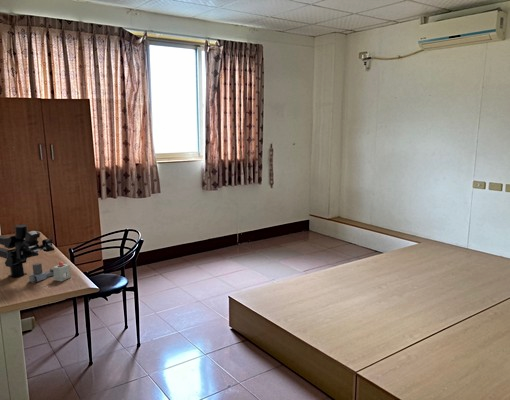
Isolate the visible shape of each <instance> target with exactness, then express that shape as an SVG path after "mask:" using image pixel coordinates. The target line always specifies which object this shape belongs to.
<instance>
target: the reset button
mask: <svg viewBox="0 0 510 400" xmlns="http://www.w3.org/2000/svg"><path fill="white" fill-rule="evenodd" d="M63 264H64V262H63V261H58V265H59V267H63Z"/></svg>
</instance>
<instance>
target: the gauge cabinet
mask: <svg viewBox="0 0 510 400" xmlns="http://www.w3.org/2000/svg"><path fill="white" fill-rule="evenodd" d="M70 266H71V265H70V264H67V263H63V267H59V264H58V265H55V266H53V267H52V269H53V272H54V275H53V279H54V281H58V282H63V281H66V280H68V279H71V278H72V277H71V267H70Z"/></svg>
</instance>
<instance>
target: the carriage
mask: <svg viewBox="0 0 510 400" xmlns="http://www.w3.org/2000/svg"><path fill="white" fill-rule="evenodd" d="M42 264H43V263H39V262H37V263H36V262H35V263H33V264H32V273H30V275H29V276H35V277H36V280H37V282H41V281H43V280H45V279H47V278H46V273H45V271H44V272H43V266H42ZM37 282H36V283H37Z"/></svg>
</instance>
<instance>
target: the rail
mask: <svg viewBox="0 0 510 400" xmlns="http://www.w3.org/2000/svg"><path fill="white" fill-rule="evenodd" d="M44 272H45V271H44ZM45 273H46V279H48V278H51V277H54V272H53V268H49V271H46V272H45ZM28 277H29V278H28V279H29V282H30V283H31V284H32V283H33V284H34V283H37V280H36V277H35V276H30V275H29V276H28Z"/></svg>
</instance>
